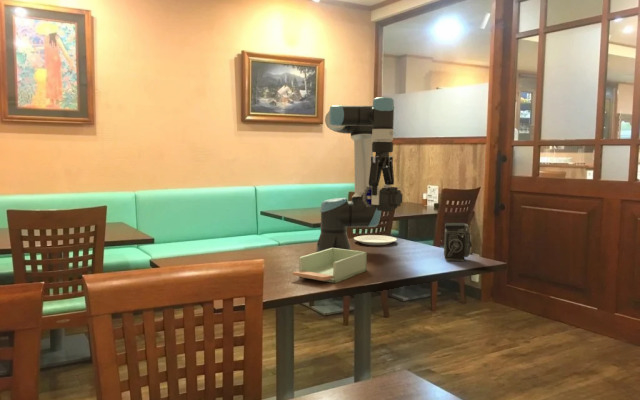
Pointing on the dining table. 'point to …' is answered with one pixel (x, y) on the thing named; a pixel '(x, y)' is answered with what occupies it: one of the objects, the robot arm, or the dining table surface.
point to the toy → (383, 198)
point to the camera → (457, 241)
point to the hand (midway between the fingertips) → (381, 203)
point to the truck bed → (334, 263)
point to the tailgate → (313, 275)
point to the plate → (375, 239)
